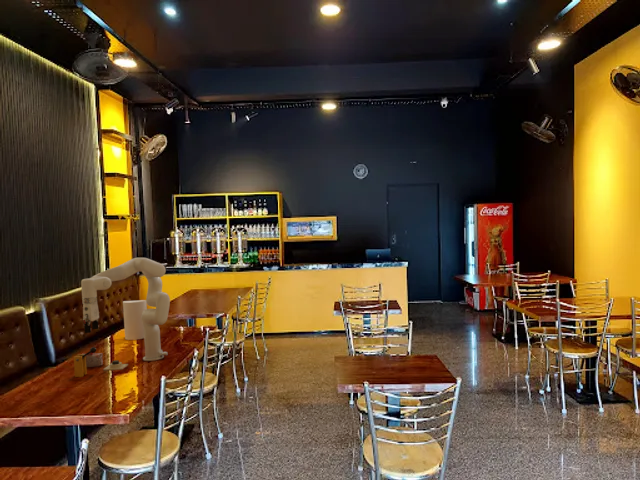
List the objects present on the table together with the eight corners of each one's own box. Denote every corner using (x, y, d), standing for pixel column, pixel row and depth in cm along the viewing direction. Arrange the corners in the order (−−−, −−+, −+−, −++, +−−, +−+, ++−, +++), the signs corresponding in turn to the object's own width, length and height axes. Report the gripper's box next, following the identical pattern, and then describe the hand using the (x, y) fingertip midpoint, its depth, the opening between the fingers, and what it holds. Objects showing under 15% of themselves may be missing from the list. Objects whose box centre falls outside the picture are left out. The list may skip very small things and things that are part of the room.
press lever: (98, 350, 283) (95, 345, 283) (95, 351, 280) (92, 346, 280) (80, 361, 283) (77, 356, 283) (77, 363, 280) (74, 358, 280)
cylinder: (144, 339, 373) (142, 302, 372) (121, 340, 373) (118, 303, 372) (152, 333, 390) (150, 298, 389) (130, 334, 390) (128, 299, 389)
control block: (128, 367, 299) (127, 360, 298) (122, 372, 290) (122, 365, 289) (109, 368, 298) (109, 361, 298) (103, 373, 289) (103, 366, 289)
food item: (105, 365, 306) (104, 349, 306) (100, 369, 298) (99, 352, 298) (82, 366, 305) (81, 350, 305) (76, 370, 297) (75, 354, 297)
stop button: (119, 363, 296) (119, 360, 296) (117, 364, 292) (117, 361, 292) (113, 363, 296) (113, 360, 296) (111, 365, 292) (111, 362, 292)
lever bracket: (93, 375, 286) (91, 353, 285) (86, 379, 278) (85, 357, 277) (75, 376, 286) (73, 354, 285) (68, 380, 278) (67, 357, 277)
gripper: (89, 302, 272) (91, 334, 272) (103, 297, 289) (104, 327, 290) (75, 303, 272) (77, 334, 272) (90, 298, 289) (91, 327, 290)
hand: (91, 330), depth 281 cm, fingers open, 9 cm apart
